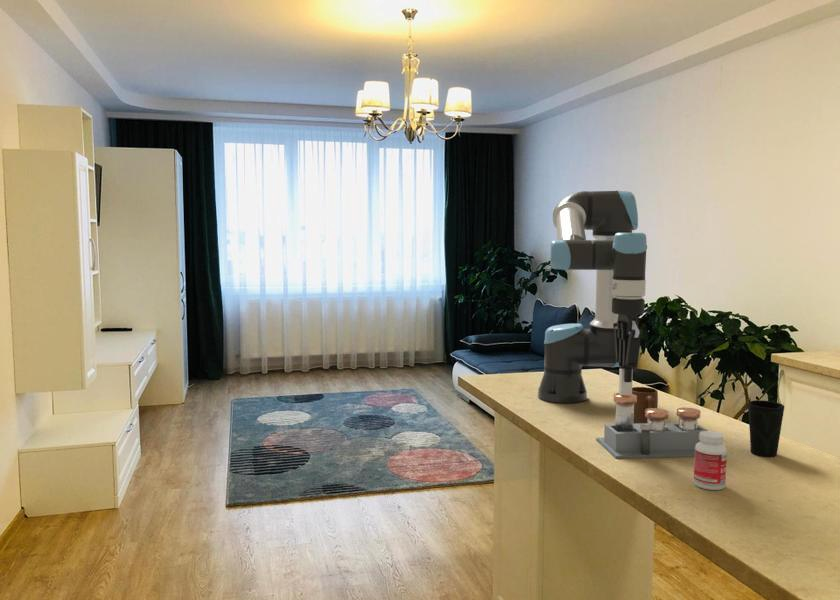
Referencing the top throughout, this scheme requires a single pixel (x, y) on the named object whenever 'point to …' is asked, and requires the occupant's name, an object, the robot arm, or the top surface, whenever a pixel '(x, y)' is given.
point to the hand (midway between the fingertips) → (625, 394)
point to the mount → (651, 441)
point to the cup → (765, 427)
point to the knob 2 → (688, 418)
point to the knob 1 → (624, 412)
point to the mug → (644, 402)
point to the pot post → (645, 438)
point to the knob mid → (656, 418)
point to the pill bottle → (710, 461)
